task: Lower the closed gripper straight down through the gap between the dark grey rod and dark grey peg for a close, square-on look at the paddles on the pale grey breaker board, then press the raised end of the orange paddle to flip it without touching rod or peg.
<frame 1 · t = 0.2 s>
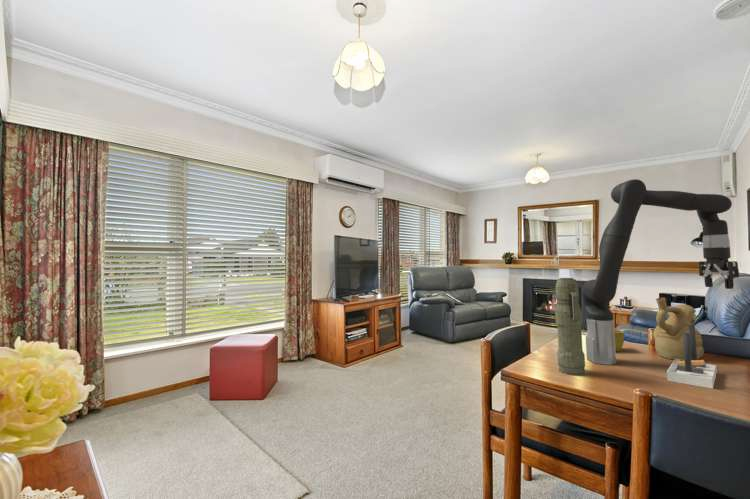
hand: (718, 287, 132), 29 cm above the table, tool pointing down, fingers open, 8 cm apart
breaker board: (692, 377, 117), on the table
ceramic vessel: (677, 357, 140), on the table
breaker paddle: (691, 363, 117), point 5 cm above the table, hinge at -14.0°
flower pot: (610, 350, 153), on the table
dark grey rod: (692, 343, 123), point 10 cm above the table, hinge at 0.0°
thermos: (571, 372, 127), on the table
dark grey peg: (687, 352, 111), point 10 cm above the table, hinge at 0.0°
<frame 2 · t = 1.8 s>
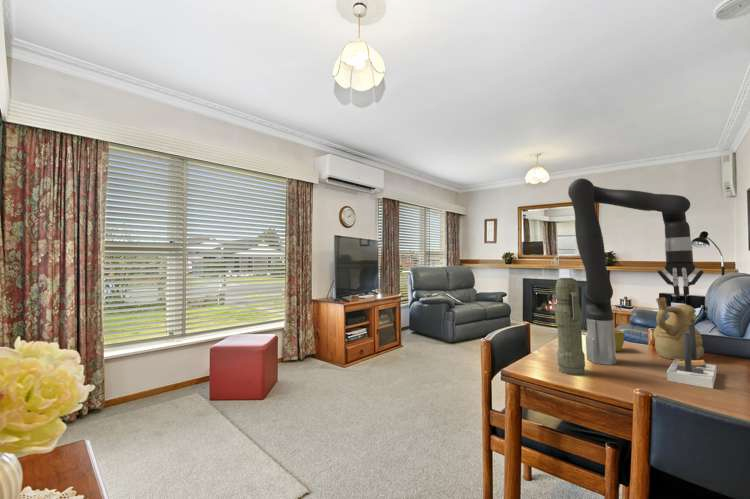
hand: (681, 296, 125), 27 cm above the table, tool pointing down, fingers closed
nothing on the table moved.
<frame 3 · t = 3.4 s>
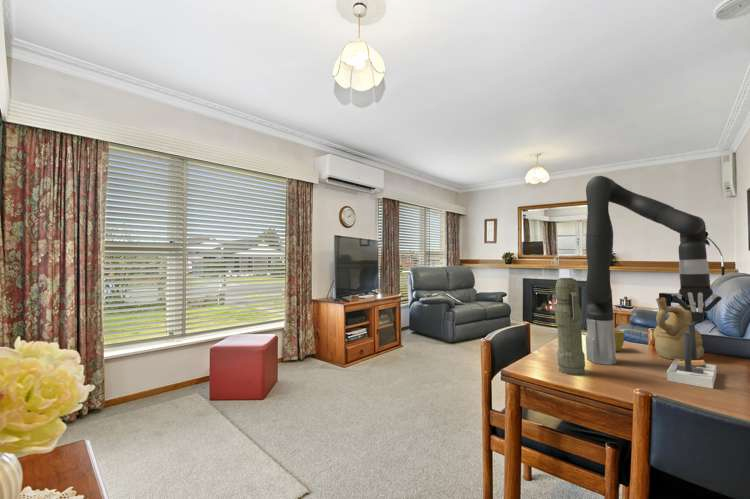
hand: (698, 323, 116), 19 cm above the table, tool pointing down, fingers closed
nothing on the table moved.
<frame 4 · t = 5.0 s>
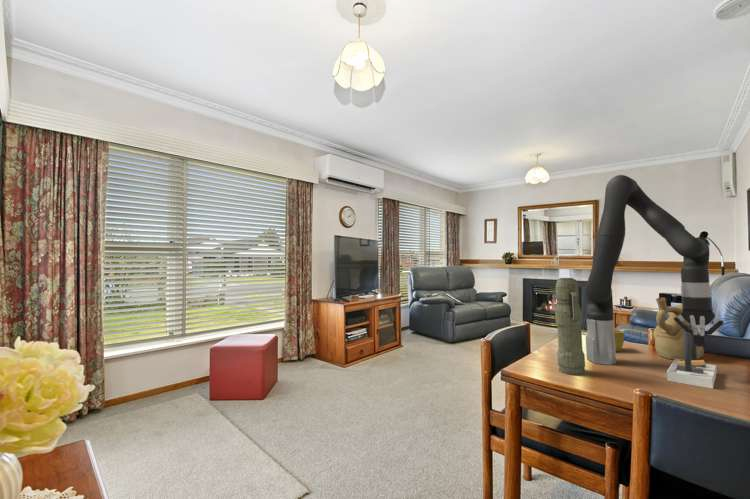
hand: (699, 346, 115), 11 cm above the table, tool pointing down, fingers closed
nothing on the table moved.
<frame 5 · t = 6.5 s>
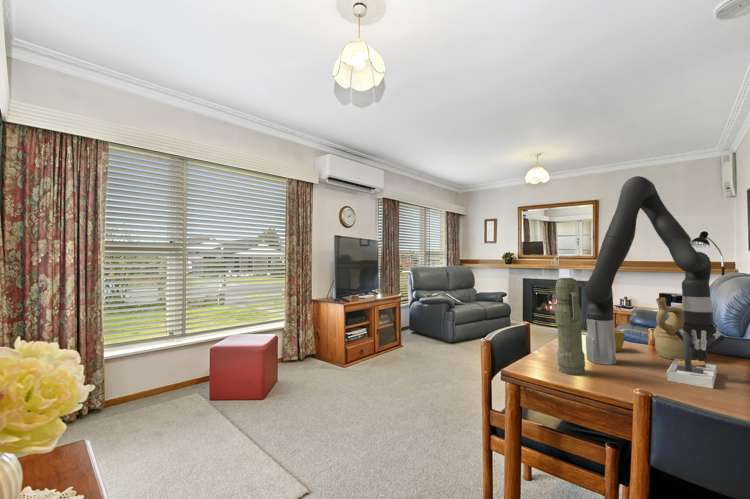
hand: (701, 360, 115), 6 cm above the table, tool pointing down, fingers closed
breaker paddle: (691, 363, 117), point 5 cm above the table, hinge at -14.0°, touching gripper
everything else where it was.
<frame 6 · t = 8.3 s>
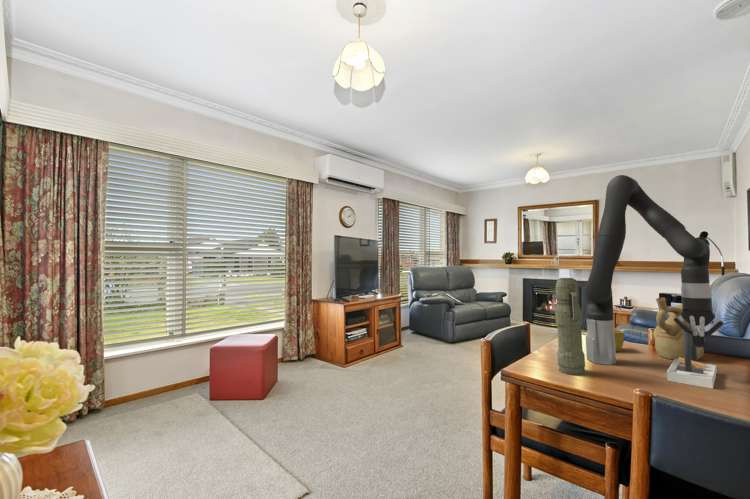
hand: (699, 346, 115), 11 cm above the table, tool pointing down, fingers closed
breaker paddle: (691, 363, 117), point 5 cm above the table, hinge at 11.3°
everything else where it was.
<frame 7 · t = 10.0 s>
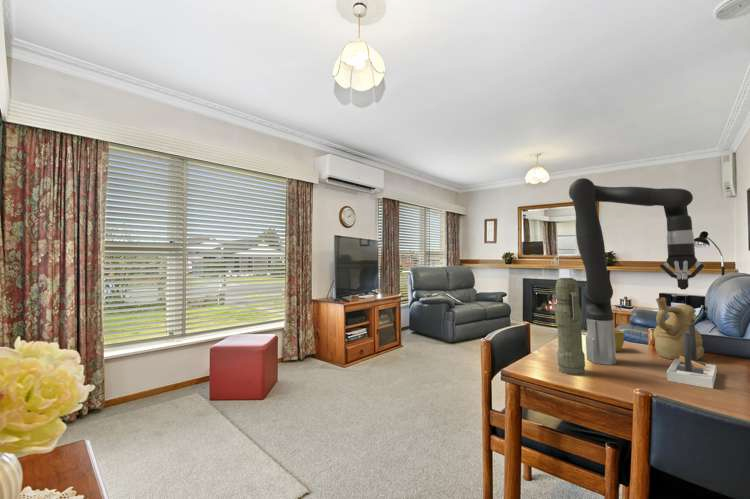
hand: (683, 289, 126), 30 cm above the table, tool pointing down, fingers closed
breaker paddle: (691, 363, 117), point 5 cm above the table, hinge at 21.3°, touching breaker board
everything else where it was.
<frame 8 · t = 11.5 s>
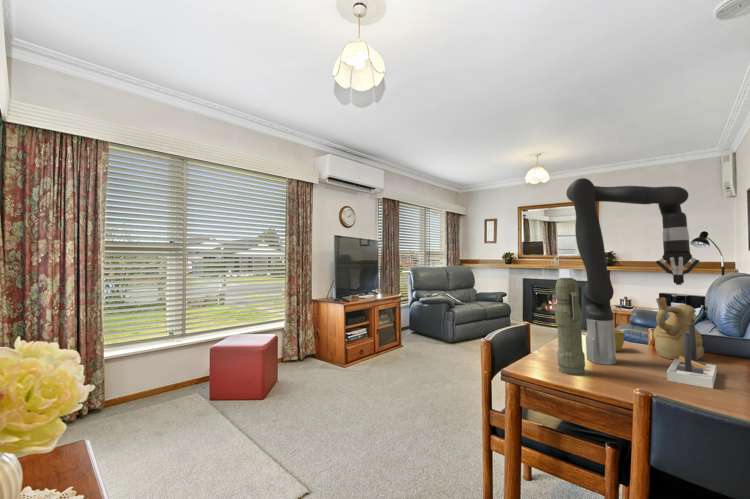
hand: (679, 284, 129), 31 cm above the table, tool pointing down, fingers closed
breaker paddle: (691, 363, 117), point 5 cm above the table, hinge at 18.9°
everything else where it was.
at the end: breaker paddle at +19° (first picture: -14°); dark grey rod at +0° (first picture: +0°); dark grey peg at +0° (first picture: +0°) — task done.
